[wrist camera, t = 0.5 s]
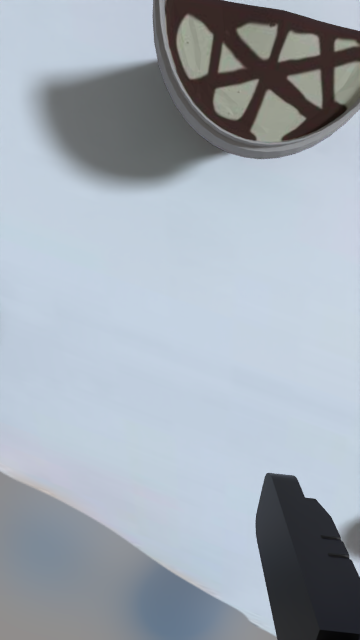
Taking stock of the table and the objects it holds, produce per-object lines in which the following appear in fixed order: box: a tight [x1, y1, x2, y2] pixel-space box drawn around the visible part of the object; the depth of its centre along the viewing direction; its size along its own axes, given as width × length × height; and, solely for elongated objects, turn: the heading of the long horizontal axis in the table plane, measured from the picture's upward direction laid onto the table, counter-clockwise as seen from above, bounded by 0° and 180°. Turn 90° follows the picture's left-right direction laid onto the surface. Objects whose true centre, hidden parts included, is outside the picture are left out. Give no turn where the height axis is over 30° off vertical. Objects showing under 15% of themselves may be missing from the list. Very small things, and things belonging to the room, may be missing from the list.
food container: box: [153, 0, 360, 159], centre depth 20 cm, size 12×6×10 cm, turn 80°
